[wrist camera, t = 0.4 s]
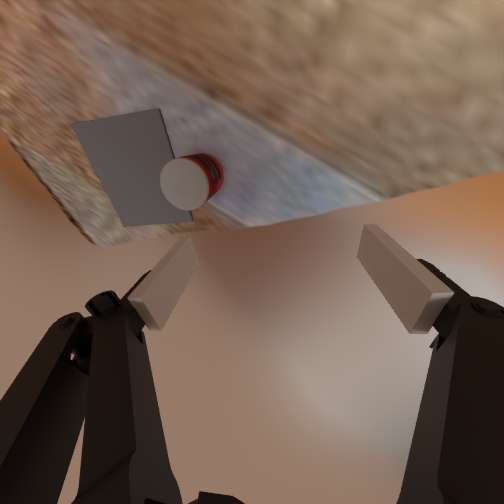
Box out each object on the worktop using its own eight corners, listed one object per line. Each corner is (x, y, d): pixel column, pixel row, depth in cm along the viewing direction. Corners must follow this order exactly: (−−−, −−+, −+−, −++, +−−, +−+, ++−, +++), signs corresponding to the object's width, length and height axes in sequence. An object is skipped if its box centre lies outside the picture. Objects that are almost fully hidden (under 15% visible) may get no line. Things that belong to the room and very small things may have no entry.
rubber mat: (73, 124, 35) (70, 124, 35) (160, 109, 32) (158, 108, 32) (125, 225, 46) (124, 226, 45) (193, 220, 43) (192, 221, 43)
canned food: (186, 188, 40) (159, 204, 30) (188, 147, 35) (158, 150, 26) (220, 198, 40) (204, 216, 31) (227, 159, 36) (211, 166, 26)
